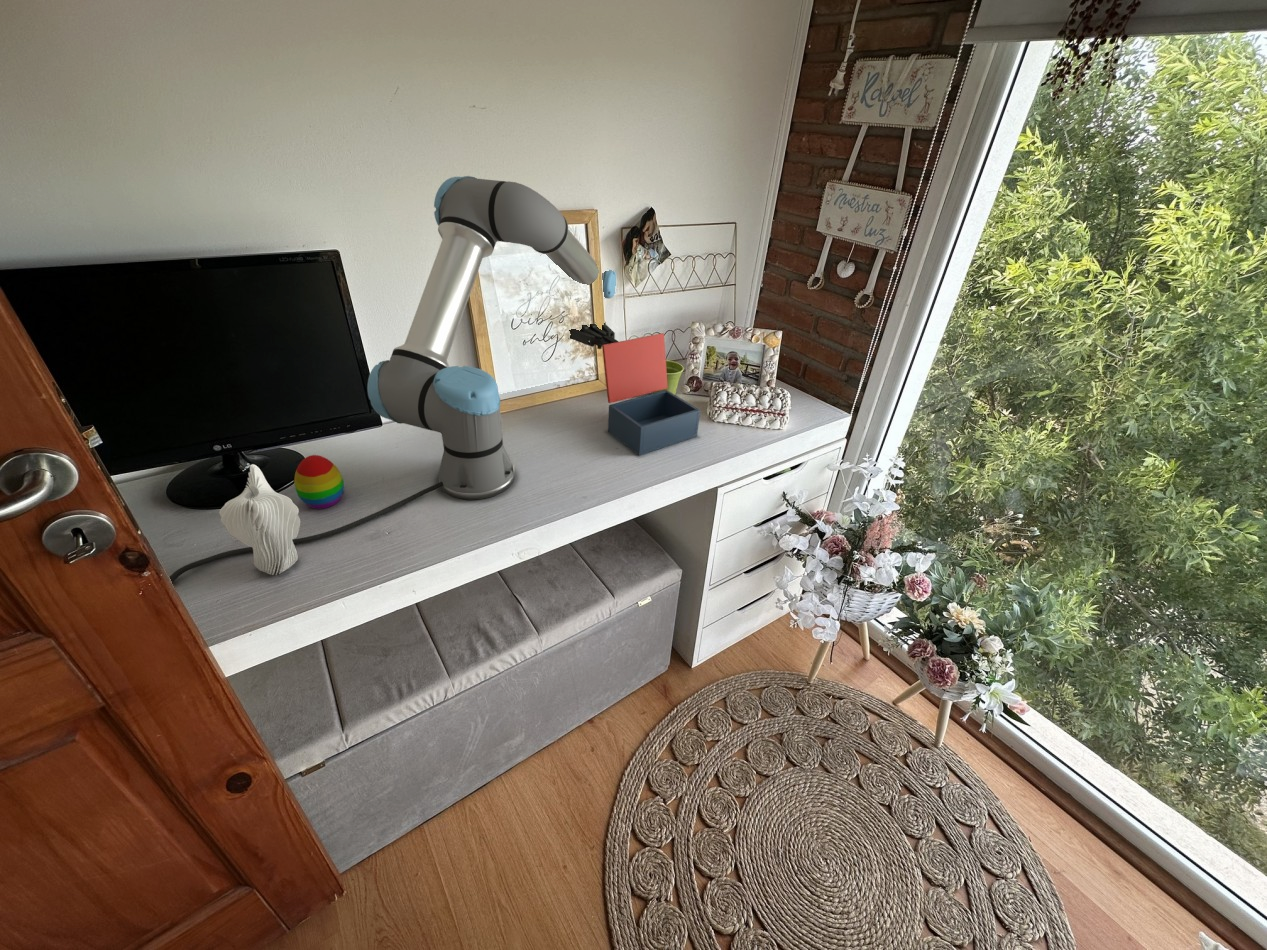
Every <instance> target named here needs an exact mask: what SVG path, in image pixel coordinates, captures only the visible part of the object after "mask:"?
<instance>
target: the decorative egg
mask: <svg viewBox="0 0 1267 950" xmlns="http://www.w3.org/2000/svg"><path fill="white" fill-rule="evenodd" d="M293 481H294V483H293V484H294V488H295V493H296V494H297V496H298V498H299V499H300V500H301V502H303V503H304V504H305V505H306V506H307V507H310V508H313V509H317V510H318V509H319V510H320V509H327V508H330V507H332V506H334V505H336V504H337V503H338V502H339V501H340V500H341V498H342V496H343V494H344V490H345V484H344V478H343V475H342V472H341V471H340V470H339V468H338V467H337V466H336V464H334V463H333V462H332V461H331V460H330V459H328V458H327V457H324V456H322V455H317V454H313V455H308V456H306V457H305V458H303V459H302V460H301V462H300V463H299V464H298V465H297V468H296V470H295V473H294V480H293Z"/></svg>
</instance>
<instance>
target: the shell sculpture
mask: <svg viewBox="0 0 1267 950" xmlns="http://www.w3.org/2000/svg"><path fill="white" fill-rule="evenodd" d="M247 474H248V477H247V481H246V485H245V488H244V490H243V491H242V492H241V493H240V494H239V495H238V496H236V497H234V498H232V499H230V500H228V501H227V502H225V503H224V505H223V506H222V507H221V509H220V510H219V511H218V514H219V516H220V517H221V518H220V523H221V524H222V525H223V527H225V529H226V531H227V533H228V534H229V535H231V536H232V537H233V538H234V539H236V540H238V541H239V542H241V543H242V544H244V545H246V546H247V547H252V548H253V552H252V553H253V554H252V555H253V564H254V567H255V568H256V569H257V570H258V571H260V572H263V573H266V574H267V575H270V576H271V575H272V576H274V575H275V576H277V575H278V574H279V575H281V574H282V573H284V572H286V571H287V570H288V569H290V568H291V567H293V565H294V564H296V562H297V561H298V558H299V556H298V552H297V549H296V546H295V544H293V541H292V539H297V536H298V534H299V531H300V528H301V527H300V526H301V519H300V516H299V511H300V509H299V508H298V506H297V505H296V504H295V503H294V502H293V500H292V499H291V498H290V497H288V496H286V495H284V494H281V493H278V492H276V491H275V490H274V489H273V488H272V487H271V485H270V484H269V483H268V481H267V479H266V477H265V475H264V473H263V471H262V470H261V469H260V467H259V466H257V465H256V464H254V463H251V464H250V465H249V471H248V473H247Z"/></svg>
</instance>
